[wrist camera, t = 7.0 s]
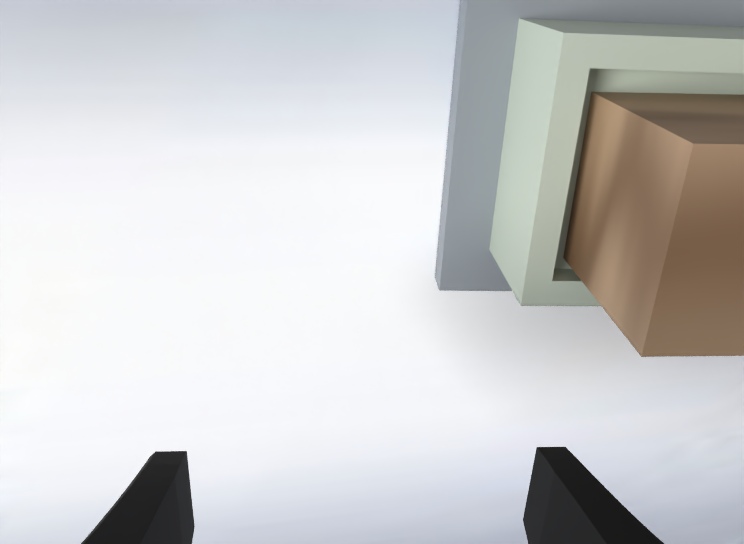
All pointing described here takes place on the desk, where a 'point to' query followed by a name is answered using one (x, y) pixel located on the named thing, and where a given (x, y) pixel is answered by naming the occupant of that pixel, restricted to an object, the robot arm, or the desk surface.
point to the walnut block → (663, 219)
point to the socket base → (555, 122)
